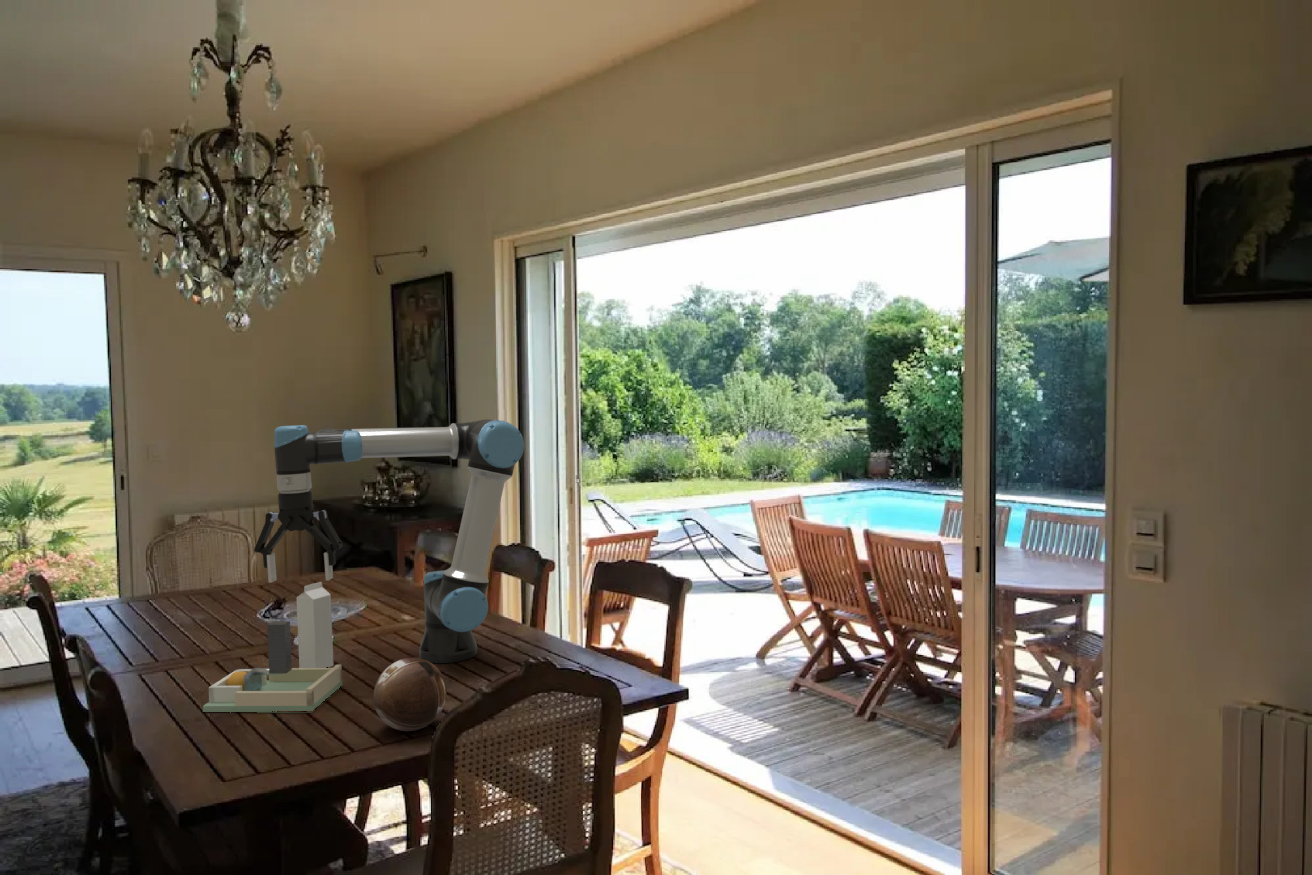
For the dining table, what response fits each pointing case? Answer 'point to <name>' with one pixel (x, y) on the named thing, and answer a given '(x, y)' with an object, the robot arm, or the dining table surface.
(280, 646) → the kicker rod
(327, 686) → the pitch
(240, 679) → the ball
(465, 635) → the robot arm
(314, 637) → the milk
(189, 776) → the dining table surface
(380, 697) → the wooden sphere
